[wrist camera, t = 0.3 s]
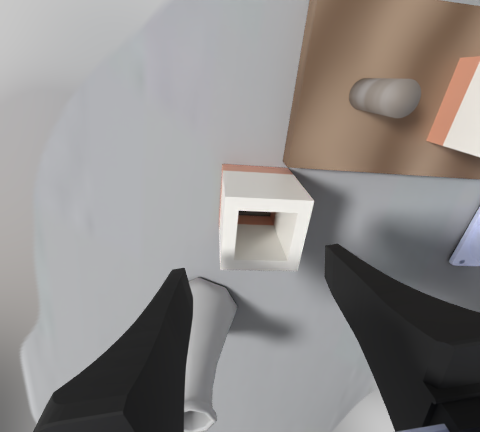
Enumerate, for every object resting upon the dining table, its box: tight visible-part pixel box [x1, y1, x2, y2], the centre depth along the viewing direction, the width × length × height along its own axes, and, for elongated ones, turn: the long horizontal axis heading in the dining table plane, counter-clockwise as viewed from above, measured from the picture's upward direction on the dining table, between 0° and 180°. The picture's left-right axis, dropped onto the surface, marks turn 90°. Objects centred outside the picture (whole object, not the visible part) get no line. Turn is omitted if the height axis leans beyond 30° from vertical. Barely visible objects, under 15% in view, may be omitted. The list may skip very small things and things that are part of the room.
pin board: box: [283, 0, 480, 179], centre depth 16 cm, size 16×10×6 cm, turn 85°
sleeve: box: [219, 164, 314, 271], centre depth 18 cm, size 5×5×6 cm
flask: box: [184, 278, 238, 432], centre depth 22 cm, size 7×7×10 cm
